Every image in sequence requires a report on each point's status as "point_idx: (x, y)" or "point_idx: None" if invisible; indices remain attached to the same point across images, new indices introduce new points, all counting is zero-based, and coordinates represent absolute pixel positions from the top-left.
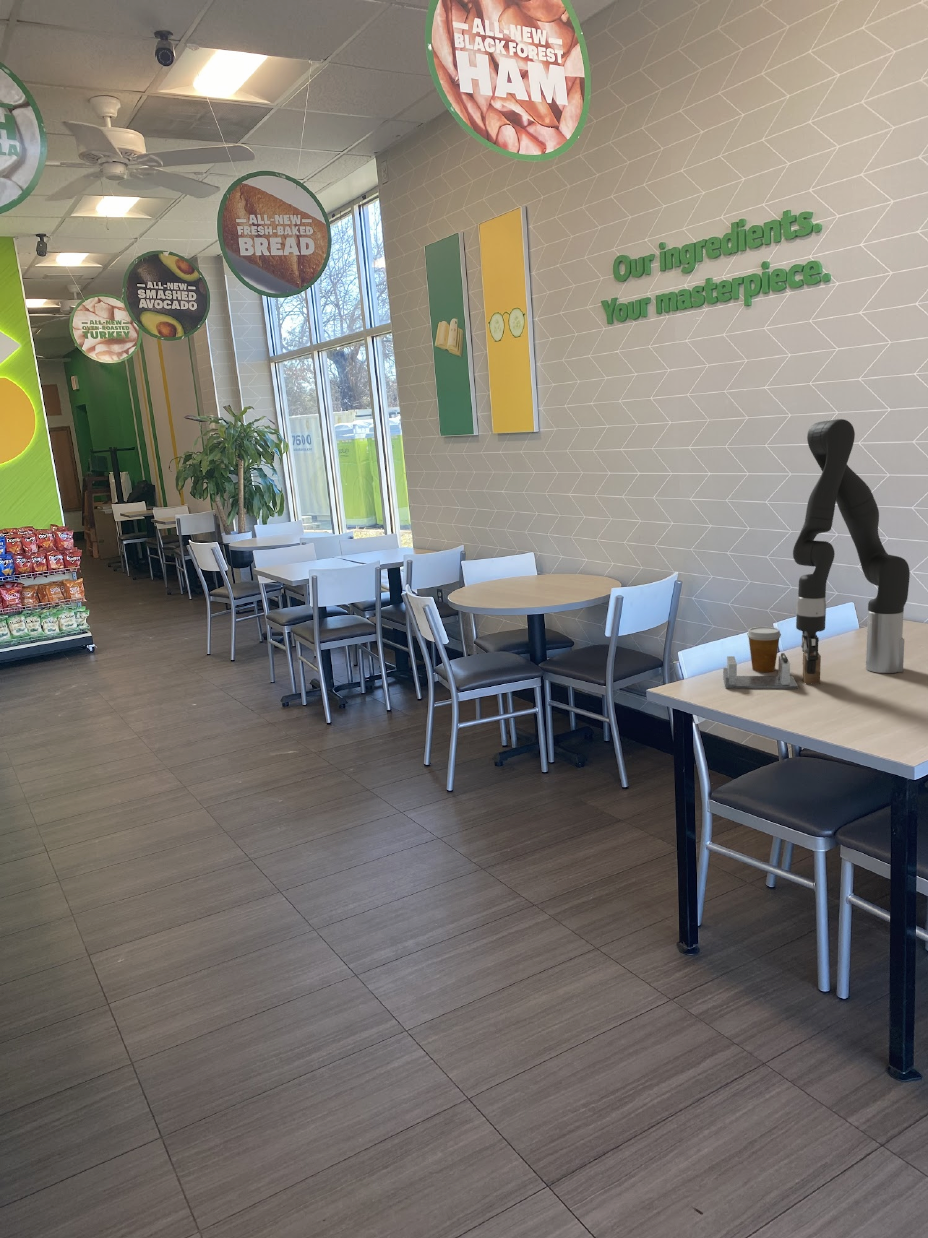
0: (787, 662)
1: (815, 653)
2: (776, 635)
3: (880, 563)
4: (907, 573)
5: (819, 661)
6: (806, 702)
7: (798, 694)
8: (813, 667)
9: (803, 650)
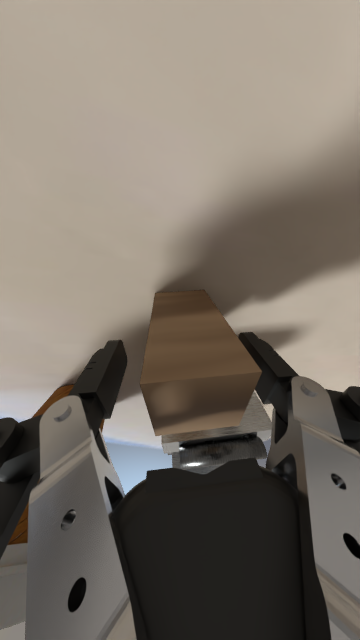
0: (255, 434)
1: (335, 433)
2: (6, 587)
3: None
4: None
5: (238, 346)
6: (349, 331)
7: (286, 343)
8: (276, 357)
9: (103, 439)
